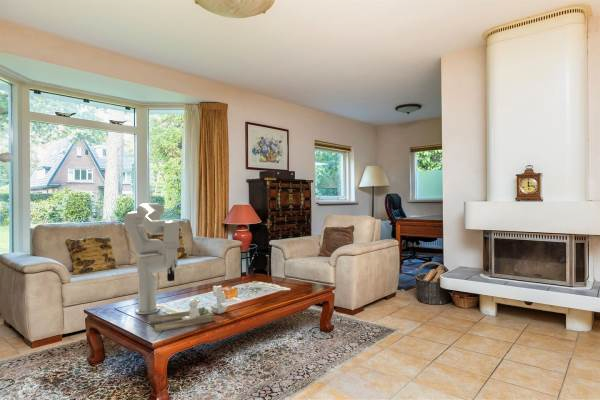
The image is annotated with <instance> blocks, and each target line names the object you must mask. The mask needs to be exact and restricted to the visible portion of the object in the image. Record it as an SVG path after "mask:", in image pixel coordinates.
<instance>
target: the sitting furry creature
mask: <svg viewBox="0 0 600 400" xmlns="http://www.w3.org/2000/svg"><path fill="white" fill-rule="evenodd" d="M200 302H201V300H200V299H199V300H198V299H197V298H192V299H190V301H189V304H188V306H189V307H190V308H189V310H190V311H189V310H188V311H189V314H190V315H189V317H188V316H185V317H183V318H181V320H186V319H191V318H196V316H201V315H200V314H199V310H198V308H199V307H198V304H199V303H200Z"/></svg>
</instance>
